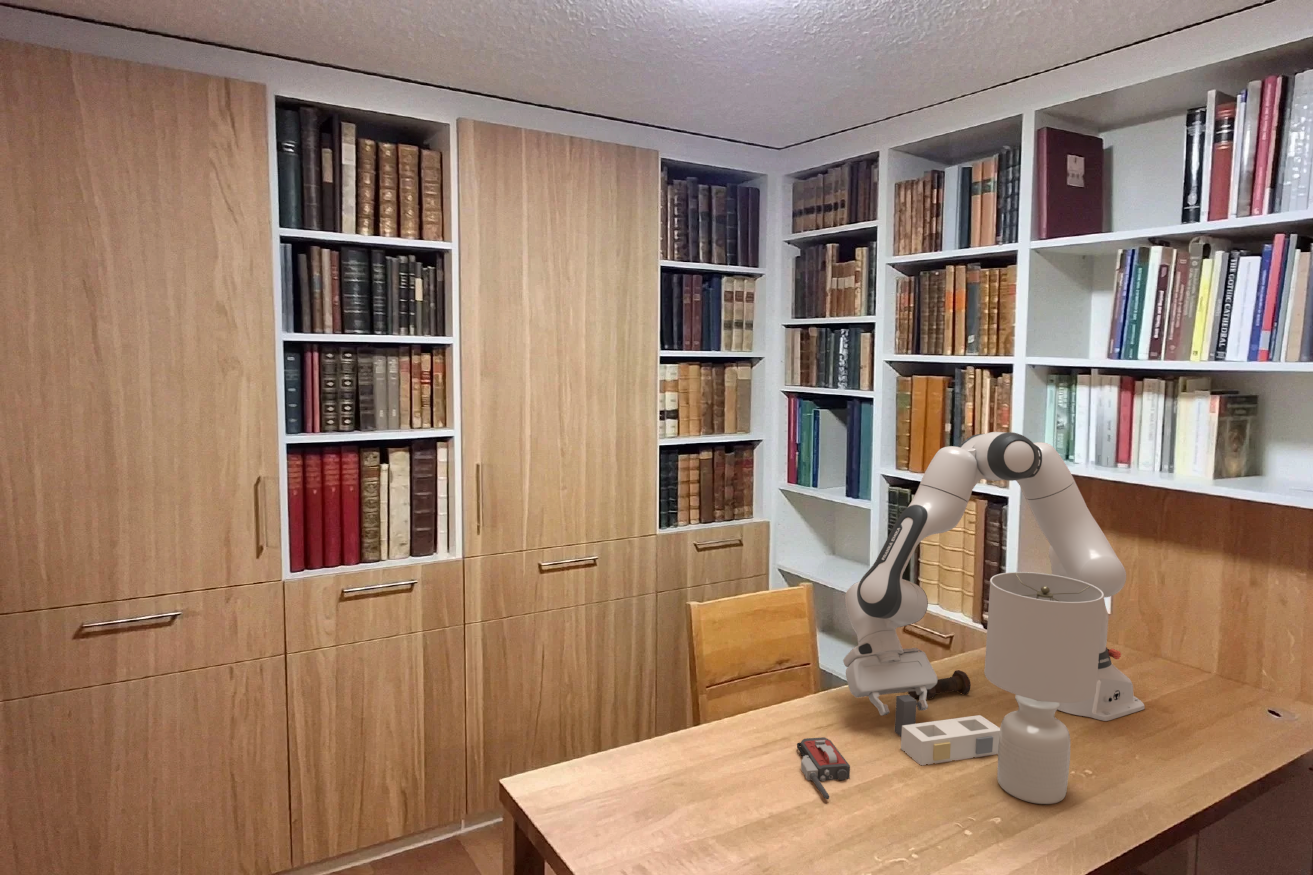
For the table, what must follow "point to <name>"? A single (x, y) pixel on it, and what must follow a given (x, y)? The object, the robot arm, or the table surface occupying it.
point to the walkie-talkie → (822, 762)
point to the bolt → (948, 685)
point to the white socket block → (950, 739)
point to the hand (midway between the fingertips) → (904, 711)
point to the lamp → (1040, 673)
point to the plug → (904, 712)
